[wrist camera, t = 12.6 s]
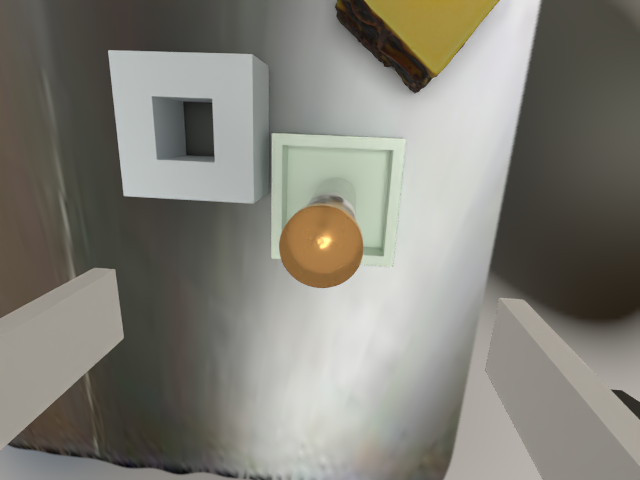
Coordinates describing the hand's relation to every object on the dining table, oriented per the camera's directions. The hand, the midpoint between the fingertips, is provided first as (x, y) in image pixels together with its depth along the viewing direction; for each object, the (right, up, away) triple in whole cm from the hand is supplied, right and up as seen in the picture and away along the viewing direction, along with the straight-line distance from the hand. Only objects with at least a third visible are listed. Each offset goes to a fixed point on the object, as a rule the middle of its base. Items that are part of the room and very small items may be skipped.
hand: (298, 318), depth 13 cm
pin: (+2, +7, +25) cm, 26 cm away
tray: (+2, +7, +25) cm, 27 cm away
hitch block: (-10, +14, +25) cm, 30 cm away
